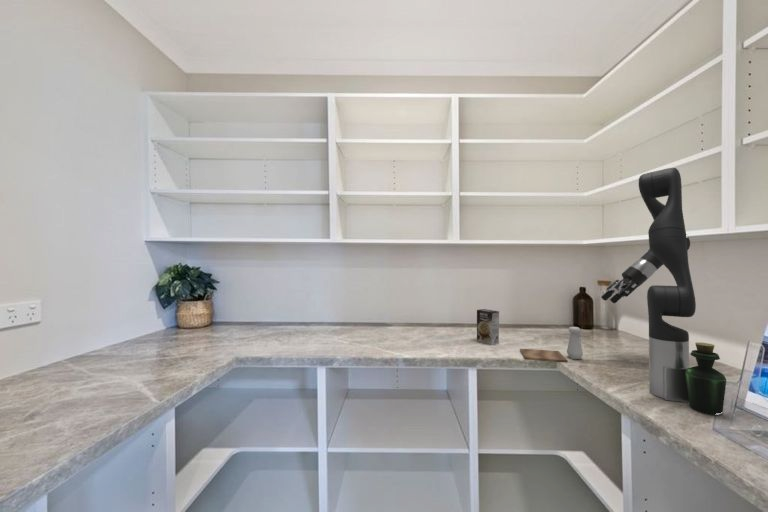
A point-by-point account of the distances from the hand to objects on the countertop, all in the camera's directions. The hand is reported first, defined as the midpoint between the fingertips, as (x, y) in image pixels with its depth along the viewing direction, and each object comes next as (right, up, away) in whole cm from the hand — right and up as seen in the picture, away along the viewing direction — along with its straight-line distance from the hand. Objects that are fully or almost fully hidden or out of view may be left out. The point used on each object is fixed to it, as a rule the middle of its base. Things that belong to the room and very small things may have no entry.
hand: (607, 300), depth 134 cm
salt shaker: (-12, -25, +3) cm, 28 cm away
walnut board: (-24, -25, +6) cm, 35 cm away
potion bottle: (-4, -24, -45) cm, 51 cm away
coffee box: (-40, -25, +29) cm, 55 cm away
